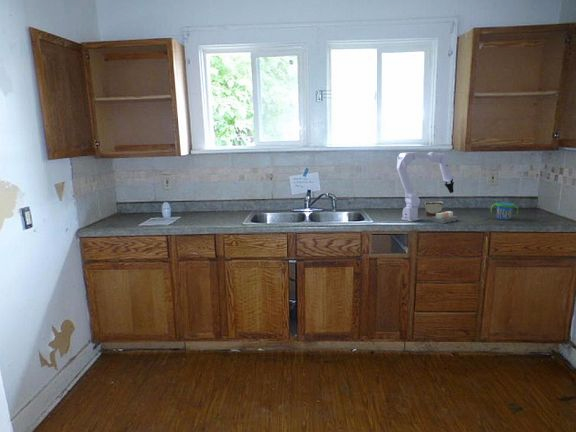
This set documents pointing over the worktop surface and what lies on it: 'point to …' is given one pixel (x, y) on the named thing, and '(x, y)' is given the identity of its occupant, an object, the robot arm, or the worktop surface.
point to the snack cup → (504, 210)
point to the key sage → (439, 215)
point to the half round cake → (433, 208)
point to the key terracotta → (445, 214)
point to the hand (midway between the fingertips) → (451, 190)
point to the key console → (444, 219)
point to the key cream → (450, 214)
